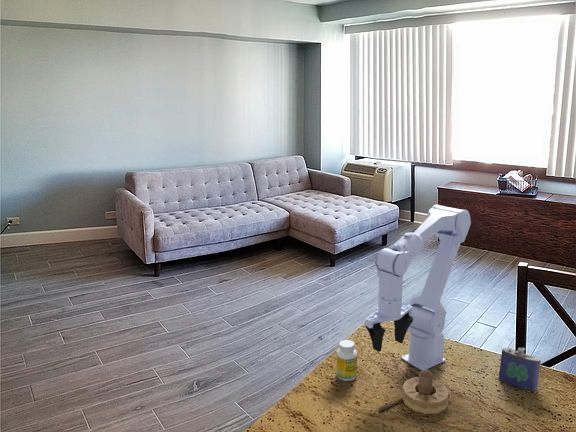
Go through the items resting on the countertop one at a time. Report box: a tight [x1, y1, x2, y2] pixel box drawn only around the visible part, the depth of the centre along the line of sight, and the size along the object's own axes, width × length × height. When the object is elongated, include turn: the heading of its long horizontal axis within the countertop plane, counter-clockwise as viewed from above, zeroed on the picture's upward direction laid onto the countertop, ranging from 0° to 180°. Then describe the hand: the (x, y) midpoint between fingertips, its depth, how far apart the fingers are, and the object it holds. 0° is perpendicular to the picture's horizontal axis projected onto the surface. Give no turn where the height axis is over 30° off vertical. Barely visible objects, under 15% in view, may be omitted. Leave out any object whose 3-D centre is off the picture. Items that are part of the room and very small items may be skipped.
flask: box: [498, 346, 542, 393], centre depth 126 cm, size 9×3×11 cm, turn 50°
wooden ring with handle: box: [378, 376, 450, 415], centre depth 120 cm, size 18×10×3 cm, turn 123°
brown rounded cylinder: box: [418, 369, 434, 396], centre depth 121 cm, size 3×3×8 cm
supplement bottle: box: [336, 339, 358, 382], centre depth 132 cm, size 5×5×10 cm
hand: (388, 345), depth 128 cm, fingers open, 7 cm apart
